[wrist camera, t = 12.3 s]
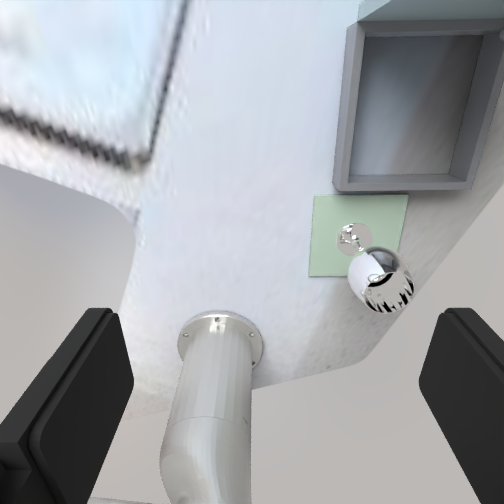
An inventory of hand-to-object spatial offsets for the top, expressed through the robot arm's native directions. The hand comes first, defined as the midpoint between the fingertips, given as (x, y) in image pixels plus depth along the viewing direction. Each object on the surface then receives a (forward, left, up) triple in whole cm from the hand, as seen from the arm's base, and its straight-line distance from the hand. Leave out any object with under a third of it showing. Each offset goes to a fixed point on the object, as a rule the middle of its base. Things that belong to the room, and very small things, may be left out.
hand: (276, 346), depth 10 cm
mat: (-10, -12, -30) cm, 34 cm away
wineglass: (-11, -12, -30) cm, 34 cm away
